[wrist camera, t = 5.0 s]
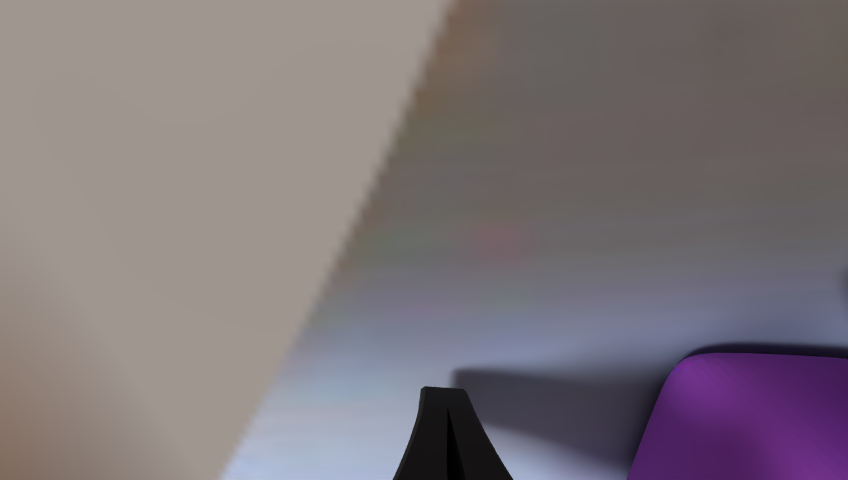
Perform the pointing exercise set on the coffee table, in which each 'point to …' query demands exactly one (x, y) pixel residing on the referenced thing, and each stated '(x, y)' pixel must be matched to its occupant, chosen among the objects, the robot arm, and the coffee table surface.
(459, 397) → the robot arm
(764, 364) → the toy camera
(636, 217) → the coffee table surface
